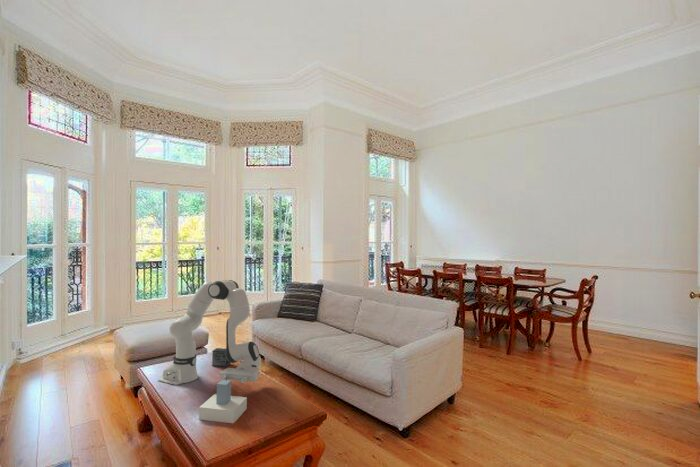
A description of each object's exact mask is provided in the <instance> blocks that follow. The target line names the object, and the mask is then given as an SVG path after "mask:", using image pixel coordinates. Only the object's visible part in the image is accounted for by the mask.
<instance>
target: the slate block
mask: <svg viewBox="0 0 700 467" xmlns="http://www.w3.org/2000/svg"><path fill="white" fill-rule="evenodd" d="M216 394H217V399H216V404H221V405H226V404H227V403H228V402H229V401H230V400H231V396H232V380H229V379H227V380H223V379H221V380H220V381H218V382H217V383H216Z"/></svg>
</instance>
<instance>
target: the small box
mask: <svg viewBox="0 0 700 467" xmlns="http://www.w3.org/2000/svg"><path fill="white" fill-rule="evenodd" d="M211 353H212V357H211V358H212V362H211V363H212V367H223V368H228V366H230V365H231V362H229V361H228V360H227V359H226V355H225V354H226V348H224V347H223V348H219V347H217V348H215V349H213V350H212V352H211Z"/></svg>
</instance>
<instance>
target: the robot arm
mask: <svg viewBox="0 0 700 467" xmlns="http://www.w3.org/2000/svg"><path fill="white" fill-rule="evenodd" d="M214 300H223V301H224V300H226V301H228V303H229V304H228V306H229V312H230V313H229V318H227V320H226V327H225V330H226V331H225V334H226V337H225V338H226V340H225V341H226V348H225V349H226V354H225V355H226V359H227V360H228V361H229V362H230V364H235V363H238V362H241V361H242V362H241V363H240V364H239V365H237V366H236V368H235V367H234V368H233V367H226V368H225V369H223V370H221V371H220V372H219V376H220V377H219V378H220V379H221V380H230V381H239V383H240V384H243V383H246V382H249V383H254V382H256V381H257V380H258V378H259V376H260V367H261V364H262V358H261V356H260V352H259V350H260V349H259V347H258V346H257V344H256V343H255V342H253V341H251V340H250V341H246V342H242V343H238V344H237V343H236V330H237V328H238V326H239V325H241V324H242V323H244V322H245V321H246V320H247V319H248V318H249V316H250V313H251V309H250V304H249V299H248V296H247V293H246V291H245V290H244V289H243V288H239V284H238V283H237V282H236V281H234V280H231V279H229V280H227V279H223V280H215V281H214V282H213V281H205V282H204V283H203V284H202V285H201V286H200V287H199V288H198V289H197V291H196V292H195V293H194V295H193V296H192V298H191V300H190V301H189V303H188V304H187V309H186V312H185V314H184V315H182V316H181V317H179V318H176V319H175V320H174V321H173V322H172V323H171V324H170V326H169V333H170V334H171V336H173V338H174V341H175V355H174V356H173V357H172V358H171V361H172V362H171V363H170V364H168V366H166V367H165V368H164V369H163V372H162V375H160V376H159V377H158V380H157V381H158V382H160V383H166V384H171V385H174V386H177V385H181V384H186V383H190V382H194V381H196V380H197V379H198V377H199V375H198V369H197V350H196V349H197V342H196V341H195V338H194V336H193V331H195V330H197V329H198V328H199V327H200V325H202V321H203V318H204V315H205V313H206V312H207V310H208V309H209V307H210V306H211V304H212V303H213V301H214Z"/></svg>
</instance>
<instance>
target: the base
mask: <svg viewBox="0 0 700 467" xmlns="http://www.w3.org/2000/svg"><path fill="white" fill-rule="evenodd" d="M216 399H217V393H214V394H213V395H212V396H210V397H209V398H208V399H207V400H206V401H205V402H203V403H202V404H201V405H200V406H199V408H198V420H202V421H210V422H217V423H218V422H219V423H228V424H235V422H236V421H237V420H238V419H239V418H240V417H241V416H242V415H243V413H245V411H246V410H247V408H248V407H247V404H248V402H247V401H248V400H247V399H248V398H247V396H238V395H237V396H236V395H231V400H230V401H229V402H228V403H227V404H226V405H221V404H216Z"/></svg>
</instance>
